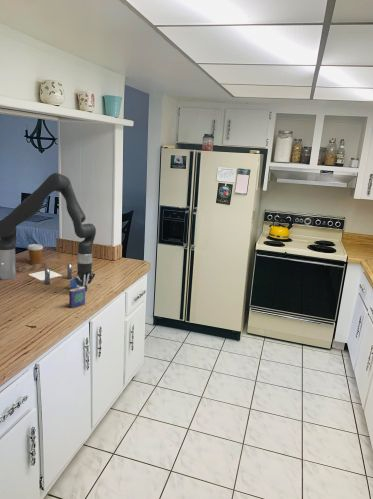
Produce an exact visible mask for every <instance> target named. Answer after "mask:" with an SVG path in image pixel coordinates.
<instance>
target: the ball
mask: <svg viewBox="0 0 373 499" xmlns="http://www.w3.org/2000/svg"><path fill="white" fill-rule="evenodd" d="M76 285H78V284H77V282H76V281H75V280H74V279H73V278H72V279H70V282H69V286H70V287H71V288H70V289H76V287H77V286H76ZM78 286H79V287H81V285H78Z"/></svg>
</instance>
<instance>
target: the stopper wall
mask: <svg viewBox="0 0 373 499" xmlns="http://www.w3.org/2000/svg"><path fill="white" fill-rule="evenodd" d="M43 268H44V269H45V268H48V267H47V263H46V262H41V264H35V265H32V264H31V265H25V266H21V267H20V266H19V267H17V272H18V273H25V272H30V271H35V270H39V269H43Z"/></svg>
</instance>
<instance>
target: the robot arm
mask: <svg viewBox="0 0 373 499" xmlns="http://www.w3.org/2000/svg"><path fill="white" fill-rule="evenodd" d="M71 183H72V182H71V180H70V179H69V177H67V176H65V175H63V174H61V173H59V172H54V173H51V174H50V175H48V177H47V178H45V180H44V181H43V183H41V184H40V185H39V186H38V188H36V189H34V191H33V192H32V193H31V194H30V195H28V196H27V197H26V198H25V199H24V200H23V201H22V202H21V203H19V204H18V205H17V206H16V207H15V208H14V209H13V210H12V211H11V212H10V213H9V214H8V215H7V216H5V217H3V219H1V220H0V280H13V279H14V278H16V277H17V268H16V267H17V265H16V264H17V263H16V262H17V261H16V243H17V227H18V226H19V225H20V224H22V223H24V222H25V221H27V220H29V219H30V218H32V217H33V216H35V215H37V213H38V212H39V211H41V210H42V208H43V207H44V204H45V202H46V199H47V197H49V195H51V194H52V193H53V192H58V193H60V194H61V195H62V197H63V198H64V200H65V204H66V206H65V207H66V211H67V213H68V215H69V217H70V219H71V221H72V224H73V228H74V229H73V230H74V234H75V235H76V237H78V238H79V239H83V240H82V241H80V242H78V245H77V264H76V265H77V273H76V275H75V276H72V279H74V280H75V281H76V282H77V284H78V285H81V286H80V287H85V293H86V292H87V291H88V285H89V284H90V285H91V283H92V281H93V280H94V278H95V276H96V274H95V273H93V271H92V270H93V244H94V241H95V237H96V234H97V228H96V226H95V225H94V224H93V223H83V222H85V220H86V214H85V213H84V211H83V209H82V208H81V206H80V204H79V202H78V200H77V199H78V198H77V197H76V194H75V191H74V189H73V186H72V184H71Z"/></svg>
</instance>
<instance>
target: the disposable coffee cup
mask: <svg viewBox="0 0 373 499" xmlns="http://www.w3.org/2000/svg"><path fill="white" fill-rule="evenodd" d="M43 249H44V246H43V245H42V244H39V243H32V244H28V245H27V250H28V256H29V262H30V264H31V265H35V264H41V263H42V257H43V256H42V255H43Z"/></svg>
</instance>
